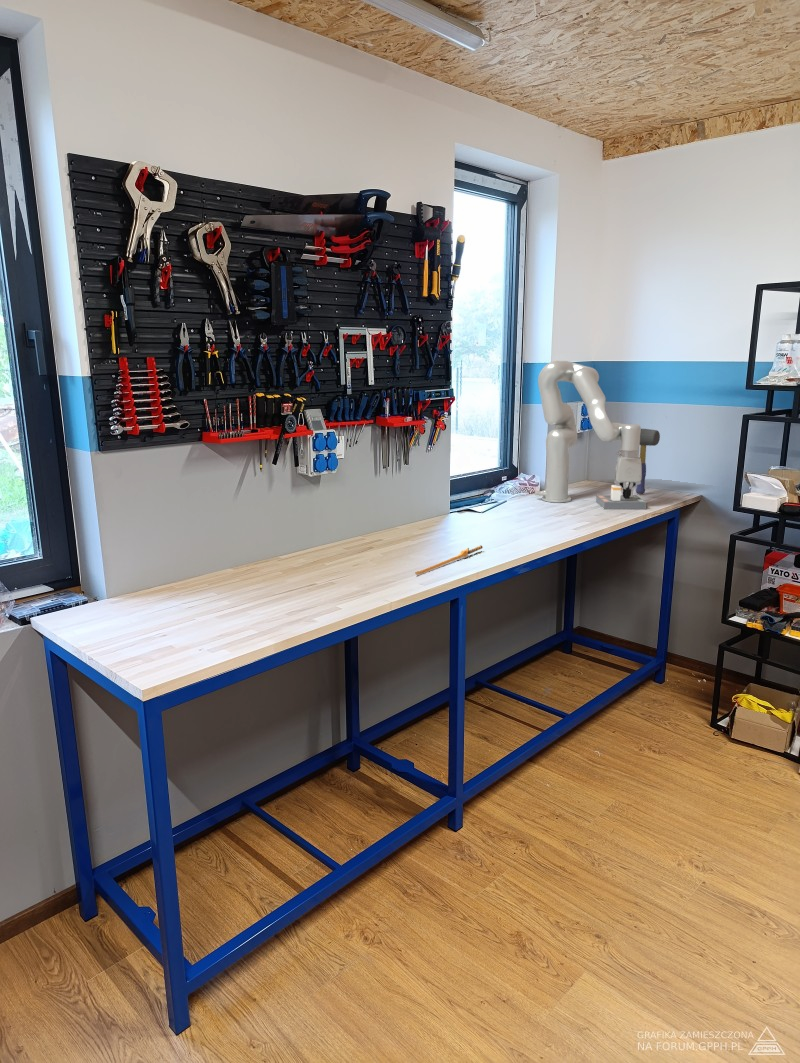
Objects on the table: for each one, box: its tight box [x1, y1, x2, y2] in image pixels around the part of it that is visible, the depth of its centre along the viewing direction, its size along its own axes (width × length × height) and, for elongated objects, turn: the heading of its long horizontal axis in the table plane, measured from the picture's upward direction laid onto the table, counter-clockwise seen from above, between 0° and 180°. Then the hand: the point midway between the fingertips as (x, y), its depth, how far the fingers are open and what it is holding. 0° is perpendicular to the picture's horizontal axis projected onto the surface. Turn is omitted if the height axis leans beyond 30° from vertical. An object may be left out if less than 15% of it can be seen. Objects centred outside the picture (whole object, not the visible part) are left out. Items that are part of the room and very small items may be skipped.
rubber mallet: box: [635, 428, 661, 496], centre depth 326 cm, size 12×8×30 cm, turn 46°
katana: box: [414, 545, 484, 577], centre depth 221 cm, size 1×35×3 cm, turn 141°
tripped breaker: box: [610, 484, 622, 501], centre depth 300 cm, size 3×4×6 cm
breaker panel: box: [595, 482, 647, 510], centre depth 304 cm, size 17×16×9 cm
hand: (626, 498), depth 300 cm, fingers closed
